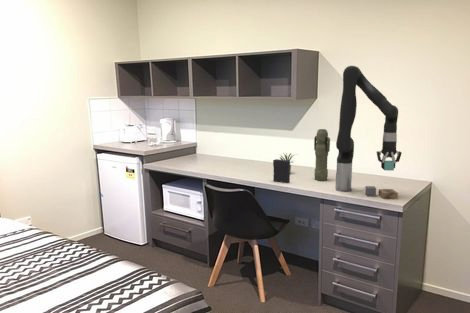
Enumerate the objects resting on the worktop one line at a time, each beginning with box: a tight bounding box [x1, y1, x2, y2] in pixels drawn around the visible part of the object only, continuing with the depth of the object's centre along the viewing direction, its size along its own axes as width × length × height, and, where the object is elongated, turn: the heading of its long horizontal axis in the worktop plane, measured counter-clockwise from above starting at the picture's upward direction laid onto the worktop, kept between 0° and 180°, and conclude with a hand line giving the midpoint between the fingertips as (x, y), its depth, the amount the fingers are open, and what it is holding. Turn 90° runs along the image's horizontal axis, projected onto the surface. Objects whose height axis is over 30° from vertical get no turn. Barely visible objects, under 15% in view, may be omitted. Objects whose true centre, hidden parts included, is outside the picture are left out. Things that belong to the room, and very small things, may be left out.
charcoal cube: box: [365, 185, 377, 197], centre depth 227 cm, size 5×5×5 cm
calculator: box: [272, 158, 291, 184], centre depth 262 cm, size 11×4×15 cm, turn 56°
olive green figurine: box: [313, 128, 331, 182], centre depth 265 cm, size 9×12×35 cm
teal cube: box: [382, 159, 395, 171], centre depth 226 cm, size 5×5×5 cm
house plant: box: [278, 152, 299, 172], centre depth 289 cm, size 14×14×16 cm
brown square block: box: [377, 188, 399, 200], centre depth 222 cm, size 8×8×4 cm
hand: (388, 168), depth 226 cm, fingers closed on teal cube, 5 cm apart
